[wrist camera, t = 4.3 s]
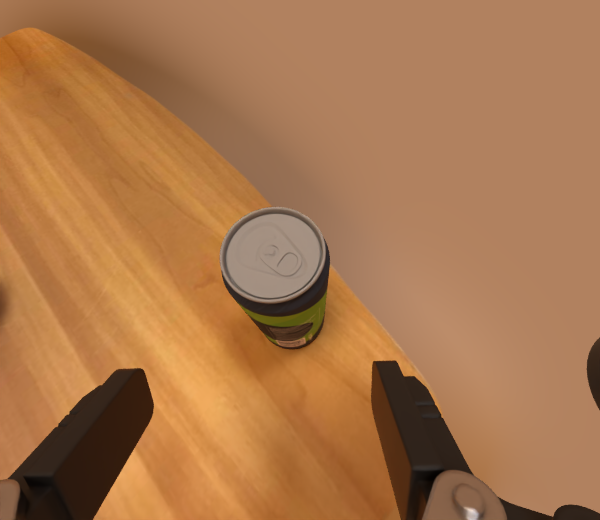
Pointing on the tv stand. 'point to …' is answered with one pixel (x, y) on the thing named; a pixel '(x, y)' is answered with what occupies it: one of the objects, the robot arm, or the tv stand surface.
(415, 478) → the robot arm
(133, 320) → the tv stand surface
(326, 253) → the beverage can
